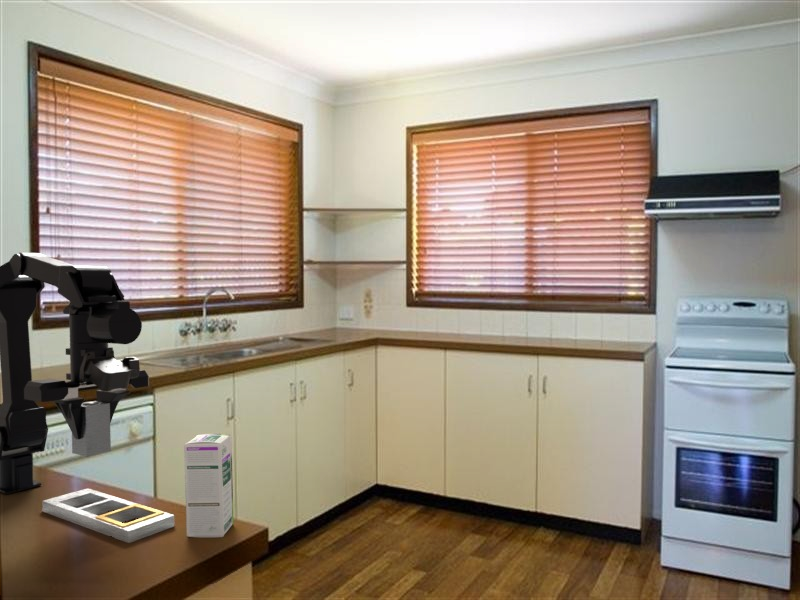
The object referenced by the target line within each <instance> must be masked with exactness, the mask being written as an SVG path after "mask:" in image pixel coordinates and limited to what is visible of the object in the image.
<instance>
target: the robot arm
mask: <svg viewBox="0 0 800 600" xmlns="http://www.w3.org/2000/svg"><path fill="white" fill-rule="evenodd" d="M117 282H118V281H116V278H115V277H114V275H113V273H112V270H111V269H110V268H109V267H107V266H106V265H105V266H104V265H103V266H102V265H74V264H72V263H69V262H66V261H62V260H59V259H56V258H53V257H49V256H47V255H46V254H42V253H41V252H18V253H15V254H13V255H12V257H10V260H9V261H7V262H5V263H3V264H2V265H0V375H1V389H2V390H1V391H2V403H1V405H0V493H2V494H5V495H8V494H13V493H16V492H20V491H24V490H29V489H32V488H36V487H39V486H42V485H43V484H42V481H38V480H35V479H34V454H35V453H39V452H41V453H42V452H44V451H45V448H46V444H47V443H46V442H47V438H48V432H49V427H48V423H47V410H46V409H45V407H43V406H42V407H41V406H40V405H39V404H38V403H39V402H40V403H46V402H50V403H54V404H55V406H56V407H57V409H58V410H59V412H60V413H61V415H62V416H63V418H64V420H65V422H66V425H67V426H68V428H69V429H70V431H71V434H72V433H73V435H74V437H75V439H81V431H82V429H81V409H80V408H81V405H82V403H84V401H85V398H84V397H79V392H84V391H89V390H95V394H96V401H100V402H106V403H110V424H111V422H112V421H113V417H114V414H115V412H116V408H117V406H118V404H119V402H120V401H121V400H122V399H123V398H124V397H125V396H127V395H129V394H130V393H131V390H129V389H127V388H128V387H129V385H130V386H131V387H132V388H133V389H140V388H146V387H149V386H150V375H149V374H148V372H147V371H146V370H145V369H141V367H140V359H139V358H138V357H136V356H127V357H126V356H125V357H124V358H123V359H116V357H115V351H114V348H113V347H112V346H111V347H110V346H109V344H113V345H115V344H118V345H129V344H132V343H133V342H135V341H136V340H137V339H138V338H139V336H140V335H141V332H142V328H143V323H142V321H141V319H140V316H139V314H138V313H137V312H136V311H135V310H133V309H132V308H131V307H130V305H131V304H130V303H131V302H130V300H126V299H125V294H124V293H123V292H122V291H121V289H120V287H119V285H118V283H117ZM45 284H48V285H51V286H54V287H56V288H57V293H58V294H59V295H60V296H62V297H63V298H65V299H66V300H67V301H69V302H70V303H69V304H68V305H67V306H65V308H63V310H62V314H64V315H68V317H69V319H68V321H69V325H68V326H69V347H68V348H67V347H66V348H65V355H67V356H69V359H70V361H69V364H70V369H69V370H70V372H68V373H65V376H66V377H65V378H66V379H65V380H67V381H65V380H63V379H56V378H45V379H37V380H33V377H32V376H33V375H32V360H31V346H30V344H31V343H30V331H29V321H30V319H31V318H32V315H33V314H34V312H35V311H36V309H37V306H38V296H39V295H40V293H41V292H42V291H43V290H44V288H46V285H45ZM96 389H97V390H96ZM37 402H38V403H37Z"/></svg>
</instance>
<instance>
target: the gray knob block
mask: <svg viewBox="0 0 800 600" xmlns="http://www.w3.org/2000/svg"><path fill="white" fill-rule="evenodd" d="M80 409H81V429H82V431H81V439H75V437H74V435H73V433H72V432H71V453H72V454H73V455H79V456H82V457H92V456H95V455H100V454H104V453H108V452H111V451H112V450H111V449H112V446H111V444H112V443H111V423H110V403H106V402H100V401H97V400H93V401H85V402H84V401H83V403H82V405H81V408H80Z"/></svg>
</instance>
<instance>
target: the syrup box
mask: <svg viewBox="0 0 800 600" xmlns="http://www.w3.org/2000/svg"><path fill="white" fill-rule="evenodd" d="M183 447H184V449H183V450H184V452H183V453H184V479H185V480H184V481H185V483H184V484H185V485H184V486H185V491H184V492H185V517H186V518H185V519H186V520H185V522H186V537H190V538H223V537H224V536H225V534H226V533H227V532H228V531H229V530H230V528H231V527H232V526H233V524H234V523H235V522H234V520H235V519H234V518H235V517H234V489H233V488H234V486H233V485H234V484H233V453H232V452H233V451H232V448H233V447H232V435H231V434H227V433H203V434H197V435H195V437H194V438H192V439H190V440H188V441H187V442H186V443H184V445H183Z"/></svg>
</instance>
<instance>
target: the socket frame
mask: <svg viewBox="0 0 800 600" xmlns="http://www.w3.org/2000/svg"><path fill="white" fill-rule="evenodd" d="M41 506H42V507H41V508H42V512H43V513H46V514H48V515H51V516H54V517H56V518H59V519H62V520H64V521H68V522H70V523H73V524H76V525H79V526H82V527H83V528H87V529H89V530H91V531H95V532H97V533H99V534H103V535H105V536H108V537H110V536H112V537H111V538H113V537H114V539H116V540H119V541H122V542H124V543H127V544H131V543H133V542H136V541H139V540H141V539H142V540H143V538H148V537H150V536H152V535H155V534H158V533H160V532H163V531H166V530H169V529H171V528H174V527H175V515H174V514H172V513H169V512H167V511H163V510H159V509H156V508H152V507H149V506H146V505H143V504H140V503H138V502H137V503H136V502H134V501H131V500H130V501H129V500H128V499H123V498H120V497H117V496H114V495H111V494H107V493H104V492H101V491H99V490H94V489H92V488H89V487H87V488H84V489H80V490H77V491H73V492H72V491H71V492H69V493H66V494H63V495H62V494H61V495H59V496H55V497H51V498H48V499H44V500H42V504H41ZM113 510H114V511H113ZM108 511H109V512H108ZM137 518H138V519H137ZM134 519H135V520H134ZM131 520H132V521H131ZM125 521H126V522H125ZM128 521H129V522H128ZM122 522H123V523H122Z"/></svg>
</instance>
